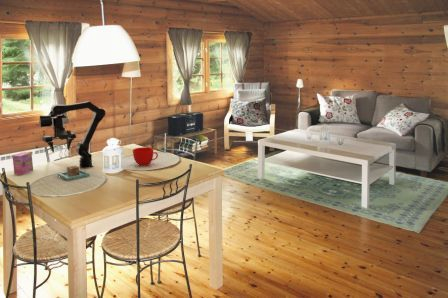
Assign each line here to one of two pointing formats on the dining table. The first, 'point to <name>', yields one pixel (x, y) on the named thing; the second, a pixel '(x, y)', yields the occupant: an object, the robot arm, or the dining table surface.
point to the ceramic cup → (143, 155)
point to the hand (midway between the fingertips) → (60, 151)
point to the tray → (68, 178)
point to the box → (22, 163)
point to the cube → (73, 171)
